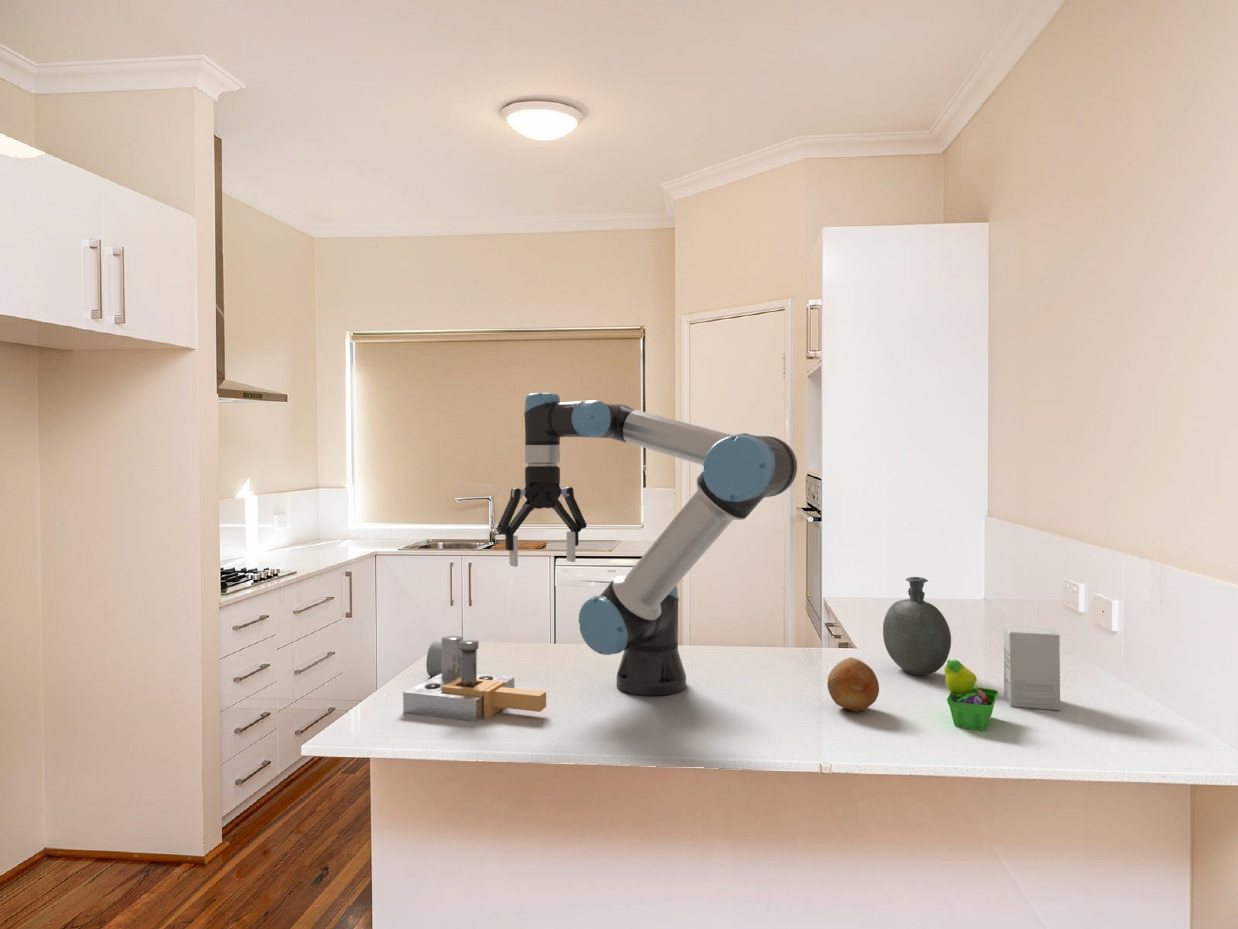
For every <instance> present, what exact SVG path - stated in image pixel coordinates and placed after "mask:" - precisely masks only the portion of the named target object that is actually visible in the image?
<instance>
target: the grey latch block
mask: <svg viewBox="0 0 1238 929" xmlns="http://www.w3.org/2000/svg"><path fill="white" fill-rule="evenodd" d="M460 641H464V637H463V636H461V635H447V636H443V637H442V638H441V642H442V673H441V674H439V675H437V676H432V677H431V678H429V679H427V680H424V681H423V682H421V683H419V684H417V685H415V686H413V687H411V688H409V689H407V690H405V691H403V694H402V696H403V697H402V700H403V701H402V704H403V705H402V706H403V708H402V709H403V710H402V712H403V714H404V713H405V714H412V715H421V716H429V717H437V718H446V719H453V720H463V721H471V722H477V721H480V719H483V718H485V717H484V696H476V695H466V694H457V693H448V692H442V686H444V685H446V684H448V683H450V682H451V681H453V680H455V679H457V678H459V677H461V650H460V649H459V642H460ZM477 679H485V680H495V681H505V687H507V688H515V676H506V675H497V674H496V675H495V674H485V673H477Z"/></svg>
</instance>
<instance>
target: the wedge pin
mask: <svg viewBox="0 0 1238 929" xmlns="http://www.w3.org/2000/svg"><path fill="white" fill-rule="evenodd" d="M479 642H480V641H479V640H477V639H476V640H475V639H466V640H464V639H463V641H460V642H459V649H460V650H461V687H471V688H474V687H475V686H477V674H478V673H477V672H478V667H477V666H478V664H477V663H478V662H477V658H478V656H477V652H478V651H477V650H478V649H479V648H480V647H479V645H480V644H479Z"/></svg>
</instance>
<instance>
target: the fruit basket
mask: <svg viewBox="0 0 1238 929" xmlns="http://www.w3.org/2000/svg"><path fill="white" fill-rule="evenodd" d="M943 670H944V674H945V684H946V687H947V689H948V690H949V692H950V693H949V695H948V696H947V697H946V701H947V704H948V706H949V709H950V713H951V717H952V718H951V719H952V721H953V726H954V727H958V728H959V727H960V728H962V729H963V728H964V729H969V730H975V731H977V730H978V731H980V732H981V731H983V732H985V731H986V729H987V727H988V725H989V722H990V720H991V718H992V714H993V711H994V707H995V703H996V701H997V698H998V696H999V690H997V689H992V688H985V687H978V686H975V684H976V682H977V680H978V679H977V676H976V674H975V673H974V672H972V670H970V669H969V668H968V667H966V666H965V665H963V663H961V662H960V661H959V660H958V659H952V660H950V659H947V660H946V664H945V665H944V669H943Z"/></svg>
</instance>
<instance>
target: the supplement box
mask: <svg viewBox="0 0 1238 929" xmlns="http://www.w3.org/2000/svg"><path fill="white" fill-rule="evenodd" d="M1060 637H1061V636H1060V634H1058V633H1057V632H1056V630H1054V628H1053V627H1052V626H1051V625H1050V626H1049V625H1038V624H1037V625H1036V624H1017V623H1016V624H1015V623H1003V694H1004V696H1005V698H1006V700H1007V702H1008V704H1009V705H1010V707H1013V708H1015V707H1016V708H1029V709H1038V710H1050V711H1051V710H1052V711H1061V672H1060V671H1061V668H1060V667H1061V666H1060V662H1061V656H1060V653H1061V651H1060V643H1061V642H1060V640H1061V639H1060Z"/></svg>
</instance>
